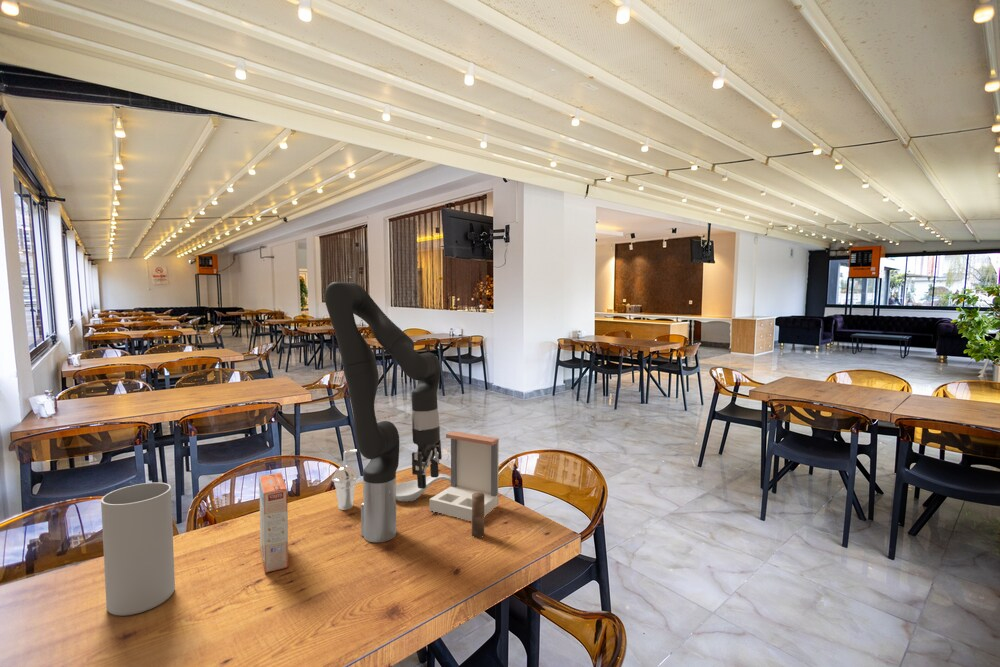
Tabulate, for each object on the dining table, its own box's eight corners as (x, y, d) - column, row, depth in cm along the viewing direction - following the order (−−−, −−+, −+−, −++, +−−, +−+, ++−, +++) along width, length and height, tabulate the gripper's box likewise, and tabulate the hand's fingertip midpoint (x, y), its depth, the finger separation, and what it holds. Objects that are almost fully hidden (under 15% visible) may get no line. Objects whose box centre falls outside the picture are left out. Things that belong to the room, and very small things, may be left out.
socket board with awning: (429, 511, 156) (429, 441, 154) (453, 495, 168) (453, 431, 166) (476, 523, 147) (477, 449, 146) (498, 506, 160) (498, 438, 158)
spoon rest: (392, 508, 158) (392, 487, 158) (388, 494, 169) (388, 474, 169) (461, 498, 166) (461, 478, 166) (453, 486, 177) (453, 467, 177)
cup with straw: (352, 499, 164) (351, 442, 163) (364, 507, 158) (363, 448, 156) (327, 506, 159) (326, 447, 157) (339, 515, 152) (338, 454, 151)
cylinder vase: (137, 582, 115) (132, 482, 114) (187, 584, 115) (183, 483, 113) (91, 616, 103) (85, 504, 101) (147, 618, 102) (142, 505, 101)
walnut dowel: (469, 536, 139) (469, 496, 139) (475, 530, 143) (476, 491, 142) (480, 539, 138) (480, 498, 137) (486, 533, 141) (486, 494, 140)
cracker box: (290, 567, 122) (288, 488, 121) (264, 574, 119) (261, 493, 118) (283, 543, 134) (282, 471, 133) (259, 549, 131) (257, 475, 130)
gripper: (424, 418, 140) (426, 473, 141) (401, 431, 126) (404, 491, 127) (448, 419, 138) (450, 474, 139) (427, 432, 124) (430, 493, 125)
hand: (428, 482), depth 133 cm, fingers open, 8 cm apart
